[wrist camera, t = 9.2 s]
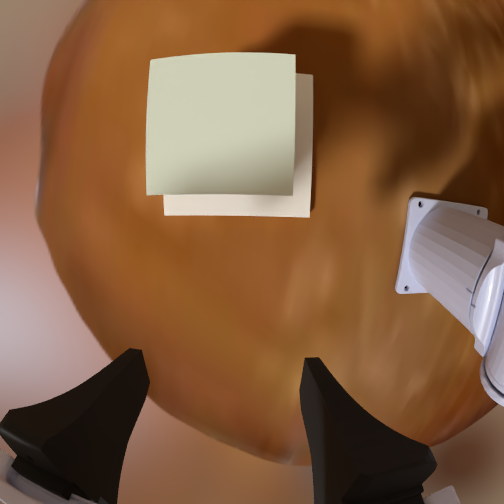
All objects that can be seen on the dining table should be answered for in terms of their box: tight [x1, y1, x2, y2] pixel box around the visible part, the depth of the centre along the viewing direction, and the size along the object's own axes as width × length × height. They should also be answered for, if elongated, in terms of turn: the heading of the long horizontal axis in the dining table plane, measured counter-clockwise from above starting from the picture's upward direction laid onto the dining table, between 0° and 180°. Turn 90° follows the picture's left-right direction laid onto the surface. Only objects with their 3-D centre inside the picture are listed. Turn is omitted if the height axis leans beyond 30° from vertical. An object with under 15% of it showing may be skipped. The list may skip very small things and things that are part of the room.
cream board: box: [164, 73, 313, 217], centre depth 18 cm, size 10×10×1 cm
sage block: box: [146, 52, 295, 196], centre depth 11 cm, size 5×5×4 cm
